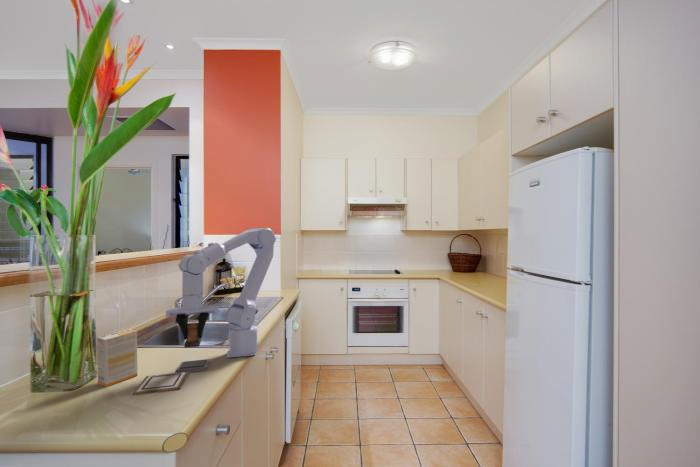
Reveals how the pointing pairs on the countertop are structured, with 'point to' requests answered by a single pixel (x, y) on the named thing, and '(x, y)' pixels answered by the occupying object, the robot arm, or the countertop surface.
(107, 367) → the supplement box
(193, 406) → the countertop surface
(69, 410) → the countertop surface
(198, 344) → the stamp
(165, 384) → the board
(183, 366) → the ink pad
